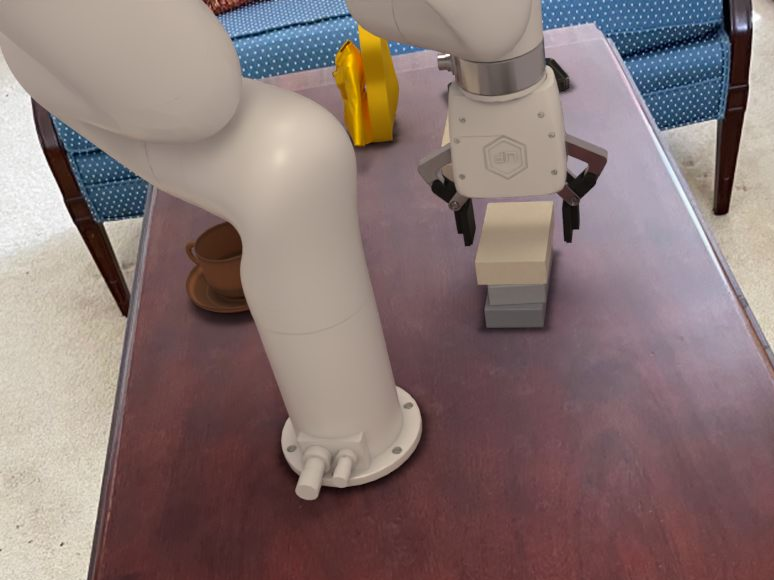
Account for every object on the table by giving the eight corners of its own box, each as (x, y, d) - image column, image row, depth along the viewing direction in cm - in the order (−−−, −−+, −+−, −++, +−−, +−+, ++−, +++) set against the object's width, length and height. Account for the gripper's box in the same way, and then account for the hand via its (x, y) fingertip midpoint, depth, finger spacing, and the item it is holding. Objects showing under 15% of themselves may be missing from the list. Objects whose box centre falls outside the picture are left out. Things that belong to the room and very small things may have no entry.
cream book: (546, 283, 88) (545, 260, 86) (477, 285, 89) (474, 262, 88) (554, 223, 95) (553, 200, 93) (490, 225, 96) (487, 202, 94)
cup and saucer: (180, 327, 98) (158, 279, 94) (204, 260, 106) (186, 212, 102) (291, 318, 97) (275, 269, 92) (308, 250, 105) (293, 202, 100)
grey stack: (546, 327, 91) (543, 290, 88) (483, 328, 92) (478, 291, 89) (555, 254, 99) (553, 217, 95) (497, 255, 100) (493, 219, 97)
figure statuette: (346, 107, 127) (306, -72, 111) (403, 97, 127) (371, -83, 111) (346, 174, 115) (301, -15, 99) (410, 164, 115) (375, -27, 99)
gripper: (391, 92, 78) (426, 262, 90) (603, 78, 74) (607, 257, 87) (407, 50, 82) (438, 217, 95) (606, 34, 79) (610, 210, 92)
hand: (519, 236), depth 91 cm, fingers open, 9 cm apart
